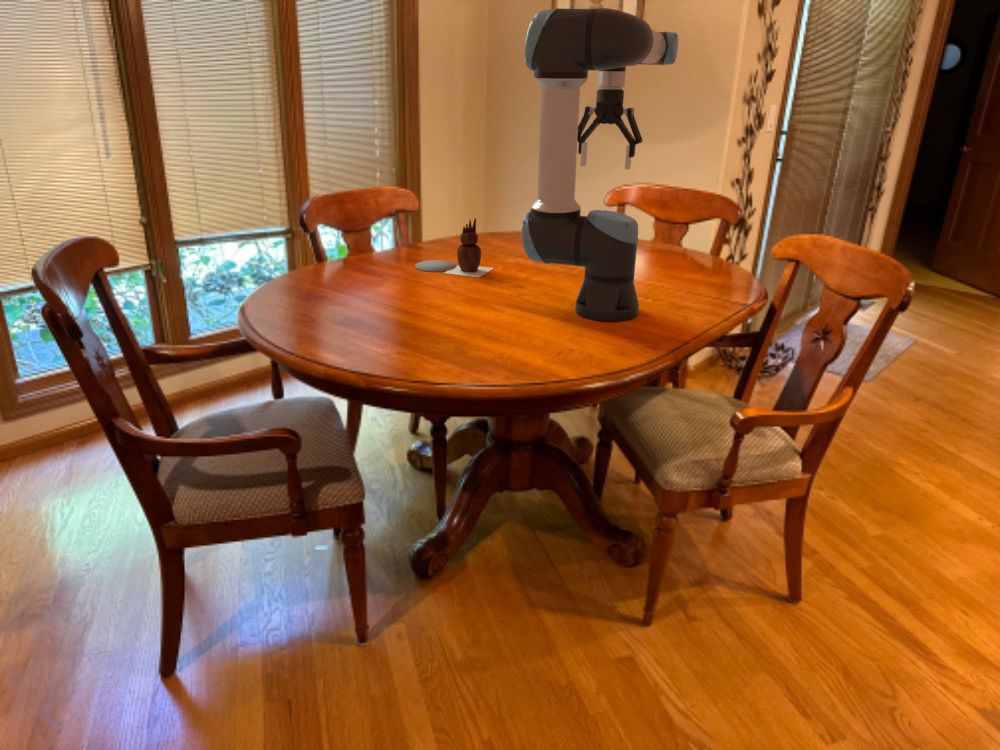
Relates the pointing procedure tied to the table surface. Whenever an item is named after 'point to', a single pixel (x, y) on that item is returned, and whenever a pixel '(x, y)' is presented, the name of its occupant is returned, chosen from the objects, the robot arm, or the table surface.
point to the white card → (478, 272)
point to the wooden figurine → (469, 249)
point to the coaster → (435, 266)
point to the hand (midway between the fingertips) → (605, 167)
